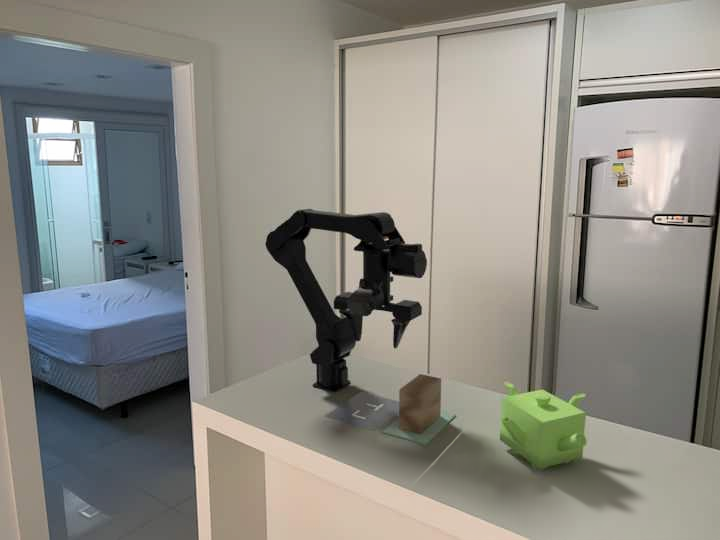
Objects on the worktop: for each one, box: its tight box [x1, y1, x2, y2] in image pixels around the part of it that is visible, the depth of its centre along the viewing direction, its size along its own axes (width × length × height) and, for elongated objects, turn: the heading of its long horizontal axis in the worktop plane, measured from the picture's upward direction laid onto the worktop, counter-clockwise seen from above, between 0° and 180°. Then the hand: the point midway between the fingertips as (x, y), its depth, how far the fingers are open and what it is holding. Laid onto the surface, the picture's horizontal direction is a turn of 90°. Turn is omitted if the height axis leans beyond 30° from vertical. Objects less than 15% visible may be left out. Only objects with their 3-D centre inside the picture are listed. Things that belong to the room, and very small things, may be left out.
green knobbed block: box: [499, 381, 588, 472], centre depth 98 cm, size 15×14×11 cm
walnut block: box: [398, 373, 442, 435], centre depth 110 cm, size 5×9×8 cm, turn 149°
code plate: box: [324, 391, 399, 431], centre depth 117 cm, size 12×14×1 cm
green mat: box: [382, 410, 457, 446], centre depth 110 cm, size 9×14×1 cm, turn 148°
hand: (376, 344), depth 121 cm, fingers open, 9 cm apart
